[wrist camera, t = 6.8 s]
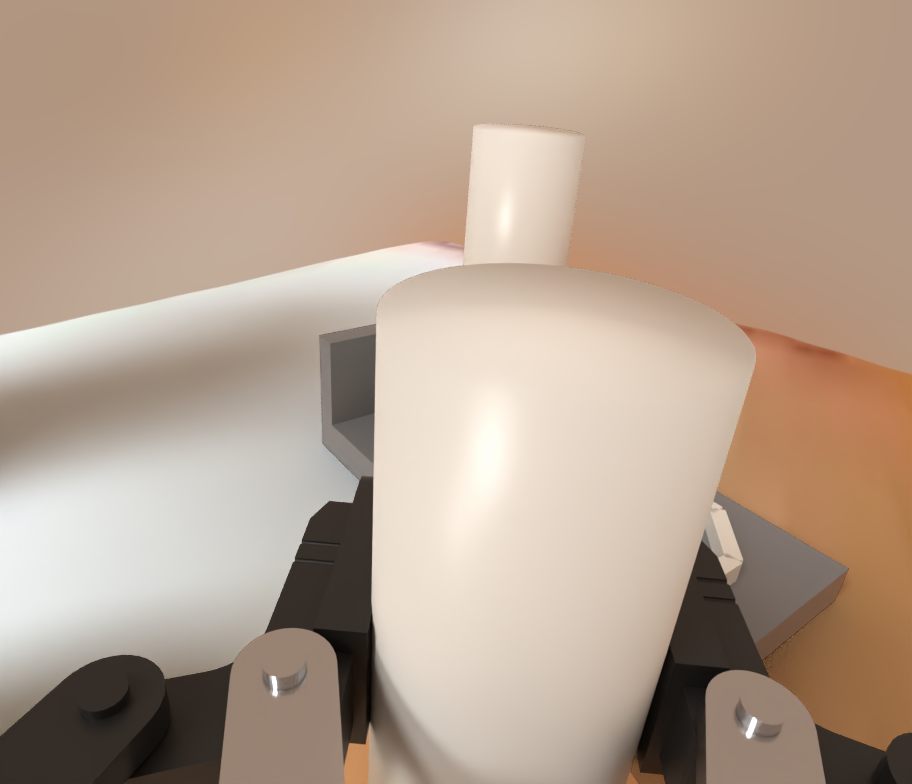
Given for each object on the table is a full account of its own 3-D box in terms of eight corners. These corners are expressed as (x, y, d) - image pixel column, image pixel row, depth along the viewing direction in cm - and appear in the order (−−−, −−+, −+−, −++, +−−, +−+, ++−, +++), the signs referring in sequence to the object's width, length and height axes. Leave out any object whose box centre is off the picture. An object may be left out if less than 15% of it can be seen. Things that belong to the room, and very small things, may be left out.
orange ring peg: (228, 881, 14) (132, 267, 8) (490, 712, 18) (561, 218, 12) (420, 1362, 9) (560, 720, 3) (722, 982, 13) (1048, 374, 7)
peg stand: (322, 443, 31) (313, 110, 25) (500, 390, 38) (531, 112, 31) (641, 761, 18) (804, 234, 12) (835, 599, 24) (1015, 195, 18)
